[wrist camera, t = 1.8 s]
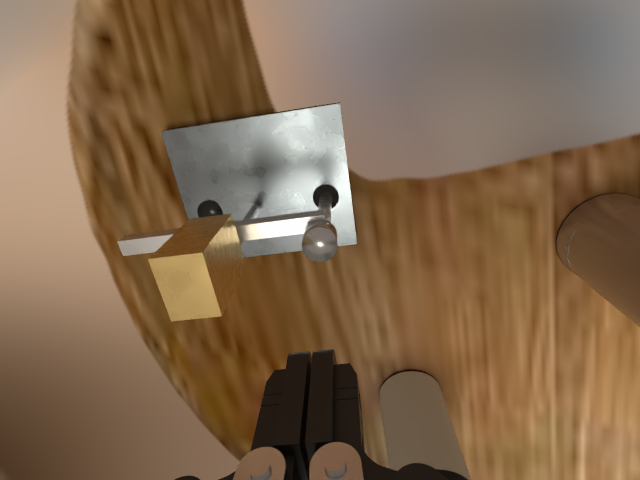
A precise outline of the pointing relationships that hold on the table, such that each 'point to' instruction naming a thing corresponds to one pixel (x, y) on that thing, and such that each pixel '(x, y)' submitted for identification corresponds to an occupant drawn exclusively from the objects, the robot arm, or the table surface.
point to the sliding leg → (200, 266)
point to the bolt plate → (265, 181)
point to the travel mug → (420, 425)
